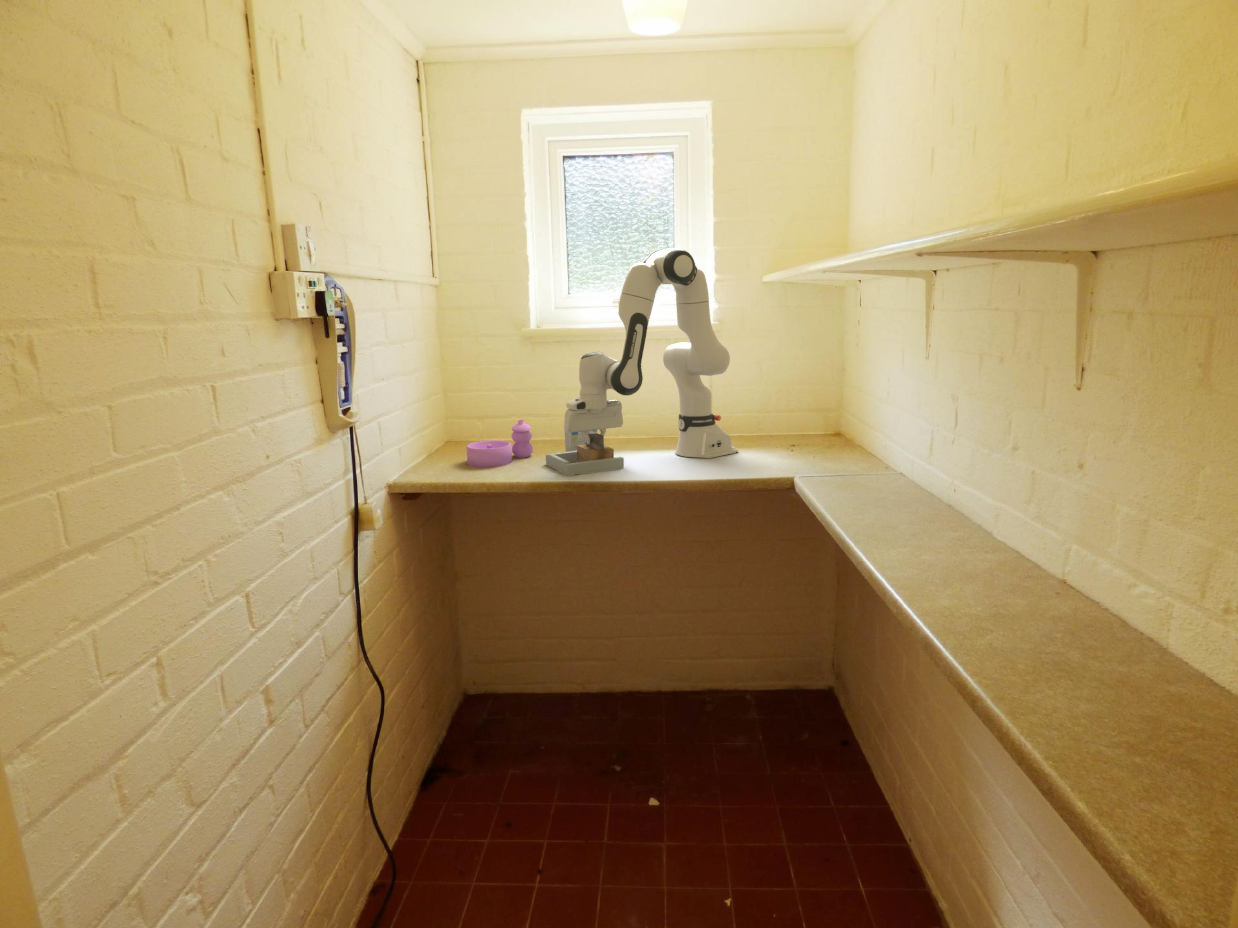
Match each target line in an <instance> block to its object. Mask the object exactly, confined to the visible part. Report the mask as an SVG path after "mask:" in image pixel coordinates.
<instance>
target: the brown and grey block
mask: <svg viewBox="0 0 1238 928" xmlns="http://www.w3.org/2000/svg"><path fill="white" fill-rule="evenodd" d="M588 435H589V437H590V438H592V439H593V441H592V442H593V443H592V444H587V440H586V444H584V445H577V461H578V462H584V461H592V460H600V459H608V458H615V453H614V452H615V451H614V450H615V449H614V448H613V447H610V446H607V445H605V438H604V437H605V435H604V436H603V435H600V433H599V432H598V433H595V432H589V434H588Z"/></svg>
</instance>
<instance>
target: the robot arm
mask: <svg viewBox="0 0 1238 928" xmlns="http://www.w3.org/2000/svg"><path fill="white" fill-rule="evenodd" d="M662 284H663V285H672V286H673V288H674V290H675V291H674V292H675V302H676V303H675V305H676V307H675V308H676V318H677V320H676V321H677V326H678V328H679V330H681V331H682V332H683V333H685V335H686V336H687V338H688V340H689V342H686V341H685V342H684V341H683V342H676V343H672V344H669V345H667V347H666V348H665V350H664V353H663V355H662V361H663V362H662V363H663V364H664V367H665V368H666V370H668V372H670V374H671V375H672V376H673V379H674V380H675V383H676V386H677V389H678V390H677V391H678V394H679V413H678V430H679V431H678V432H679V433H678V438H677V439H678V440H677V445H676V449H675V455H677V456H681V457H684V458H685V457H686V458H701V459H702V458H703V459H713V458H718V457H721V456H722V457H723V456H726V455H727V456H728V455H731V454H736V452H737V453H739V450H738V448H737V447H735V446H733V445H732V439H731V435H730V434H729V433H728V432H727V431H725V430H724V429H723V428H722V427H720V426H719V424H716V421H717V422H720V421H721V419H722V416H721V415H720V414H715V415H714V413H712V392H711V390H710V388H709V387H707V386H706V385H705V384H704V382H703V381H702V379H701V376H709V377H712V376H718V375H721V374H724V373H726V371H727V369H728V368H729V366H730V362H731V359H730V358H731V357H730V352H729V351H728V348H727V347H725V346H724V345H723V343H721V342H720V341H719V339H718V338H717V336H716V334H715V332H714V329H713V327H712V321H711V312H710V297H709V288H708V284H707V279H706V275H705V273H704V272H703V271H702V270H701V269H699V268H698V267H697V265H696V263H695V260H694V257H693V256H692V255H691V253H690V252H689V251H686V250H685V249H681V248H665V249H663V250H655V251H653V252H651V253H650V254H649V255H648V256H647V257H645V259H644V261H643V262H640V263H639V262H638V263H635V264H633V265H632V266H631V267H630V268H629V271H628V273H627V274H626V277H625V281H624V283H623V285H622V290H621V293H620V298H619V301H618V316H619V318H620V320H621V322H622V323H623V326H624V329H625V339H624V345H623V350H622V355H621V360H617V359H616V358H615V359H614V358H613V357H610V356H608V355H606V354H604V353H603V352H601V351H593V352H589V353H585V354H584V355H582V357H581V358H580V360H579V366H578V367H579V368H578V371H579V372H578V373H579V374H578V381H579V384H580V390H579V396H578V397H576V398H573V399H571V400H568V401H567V402H566V403H565V404H566V405H565V406H566V408H567V410H565V413H564V421H563V422H564V423H563V426H564V427H565V430H566V431H567V432H570V433H573V432H581V431H583V434H584V436H585V437H586V440H587V444H592V443H593V442H592V441H593V439H592V438H590V437H589V435H588V434H589V431H590V430H599V434H600V435H603V436H604V437H605V434H606V433H607V429H615V428H622V426H623V424H624V419H623V410H622V409H623V405H622V402H621V401H619V400H618V399H613V400H611V399H609V400H608V399H607V397H608V396H607V395H608V394H607V390H613V391H615V392H616V393H617V394H620V395H621V396H632V395H634V394H635V393H637V392H638V391H639V390H640V388H641V387H642V385H643V372H642V371H643V370H642V362H643V361H642V360H643V356H644V349H645V344H646V339H647V332H648V328H649V327H648V326H649V322H650V319H651V314H652V311H653V307H654V303H655V298H656V293H657V291H658V289H659V287H660V286H661V285H662ZM564 427H563V428H564ZM565 430H564V431H565Z"/></svg>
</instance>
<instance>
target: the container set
mask: <svg viewBox="0 0 1238 928" xmlns="http://www.w3.org/2000/svg"><path fill="white" fill-rule="evenodd" d="M511 430H512V431H513V432H512V433H511V440H513V442H514V443H513V445H512V443H511V442H510V441H508V440H497V439H496V440H494V439H492V440H490V439H489V440H480V441H474V442H470V443H468V444H466V445H465V446H466V460H467V461H466V462H467V465H468V466H469V465H470V466H469V467H472V466H473V467H472V468H495V467H503V465H504V466H507V465H510V464H512V462H513V455H514V457H516V458H519V459H520V458H521V459H523V458H529V457H531V456H532V454H533V451H534V448H533V445H532V443H531V442H530V441H531V440H532V438H533V434H532V432H531V430H532V427H531V425H530V424H528V423H525V420H524V419H517V423H515V424H513V426H512V427H511Z"/></svg>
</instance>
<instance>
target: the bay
mask: <svg viewBox="0 0 1238 928" xmlns="http://www.w3.org/2000/svg"><path fill="white" fill-rule="evenodd" d="M624 461H625V458H624V457H622V456H618V457H617V456H616V457H615V456H614V458H608V459H600V460H592V461H584V462H578V461H577V451H569V452H566V451H563V452H561V451H560V452H555V453H546V454H545V464H546V465H547V466H549V468H552V469H553V470H556V471H557V472H559V471H560V472H559V473H561V472H562V473H561V474H563V475H565V474H566V475H565V476H566V477H570V475H571V476H576V475H575V474H579V475H586V474H590V473H591V472H593V473H599V472H605V471H612V470H613V471H614V470H621V469H624V468H625V466H624V465H625V462H624ZM591 474H592V473H591Z"/></svg>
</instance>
